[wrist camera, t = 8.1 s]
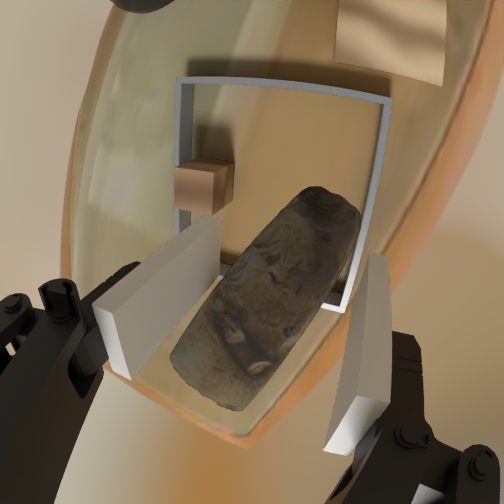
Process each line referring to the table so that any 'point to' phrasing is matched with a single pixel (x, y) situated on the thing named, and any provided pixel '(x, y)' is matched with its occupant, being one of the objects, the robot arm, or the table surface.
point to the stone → (267, 299)
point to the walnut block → (203, 185)
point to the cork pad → (393, 37)
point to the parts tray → (186, 88)
